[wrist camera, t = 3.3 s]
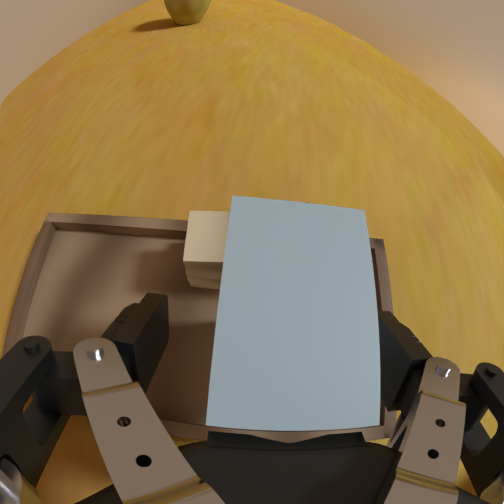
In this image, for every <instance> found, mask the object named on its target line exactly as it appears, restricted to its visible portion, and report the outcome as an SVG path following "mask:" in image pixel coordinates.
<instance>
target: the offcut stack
mask: <svg viewBox="0 0 504 504" xmlns="http://www.w3.org/2000/svg"><path fill="white" fill-rule="evenodd" d="M229 217H230V212H227V211H190V212H189V219H188V226H187V233H186V241H185V248H184V257H183V263H184V266H185V269H186V275H187V278H188V281H189V284H190V287H200V288H209V289H220V285H221V277H222V269H223V262H224V254H225V246H226V239H227V231H228V224H229Z"/></svg>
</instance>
